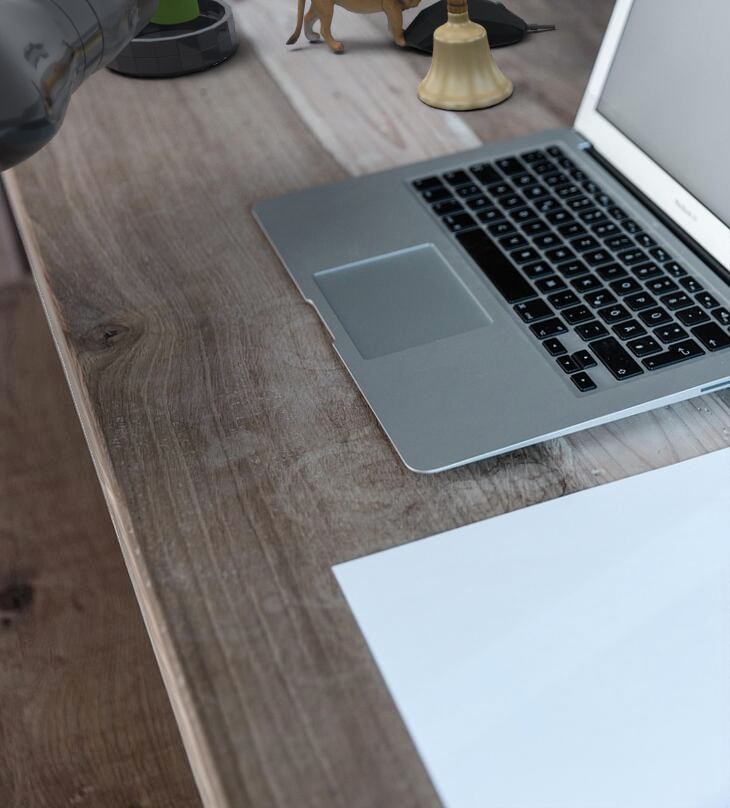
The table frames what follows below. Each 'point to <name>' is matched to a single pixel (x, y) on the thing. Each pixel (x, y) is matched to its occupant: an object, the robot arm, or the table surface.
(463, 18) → the hand bell
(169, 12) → the pickle
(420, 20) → the gaming mouse
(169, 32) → the pan
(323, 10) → the lion figurine
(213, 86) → the table surface
